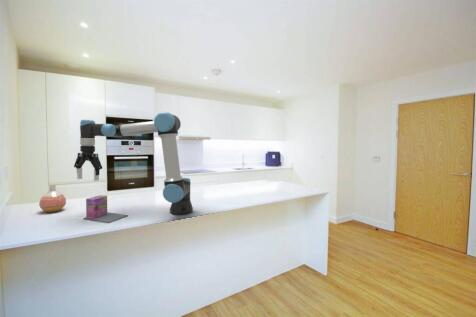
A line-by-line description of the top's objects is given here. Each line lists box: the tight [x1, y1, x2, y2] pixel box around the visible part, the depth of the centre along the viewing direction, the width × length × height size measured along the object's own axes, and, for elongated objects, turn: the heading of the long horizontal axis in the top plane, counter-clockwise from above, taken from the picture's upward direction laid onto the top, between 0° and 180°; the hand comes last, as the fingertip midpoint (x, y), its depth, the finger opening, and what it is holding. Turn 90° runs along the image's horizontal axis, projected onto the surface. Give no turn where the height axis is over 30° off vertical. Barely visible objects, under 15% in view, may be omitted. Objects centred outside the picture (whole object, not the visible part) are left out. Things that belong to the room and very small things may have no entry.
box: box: [85, 194, 108, 219], centre depth 139 cm, size 10×6×12 cm, turn 167°
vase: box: [39, 184, 67, 213], centre depth 149 cm, size 14×14×18 cm
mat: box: [82, 211, 129, 224], centre depth 138 cm, size 20×14×1 cm
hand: (88, 179), depth 140 cm, fingers open, 13 cm apart
